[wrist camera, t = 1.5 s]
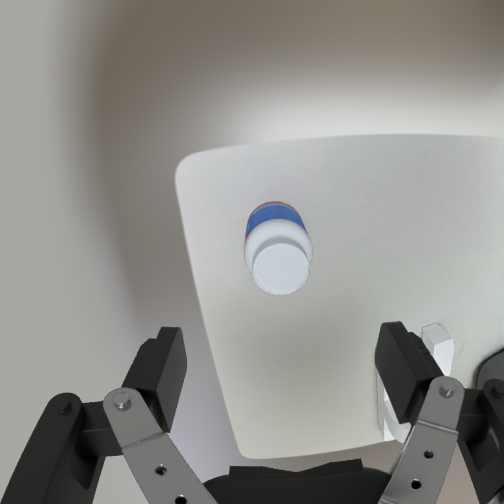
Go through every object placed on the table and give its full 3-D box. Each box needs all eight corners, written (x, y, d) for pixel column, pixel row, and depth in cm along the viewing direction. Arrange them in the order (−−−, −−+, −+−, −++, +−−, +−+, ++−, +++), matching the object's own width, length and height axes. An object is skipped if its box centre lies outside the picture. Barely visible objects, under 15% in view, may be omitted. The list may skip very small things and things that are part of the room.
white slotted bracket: (441, 320, 35) (482, 373, 25) (432, 406, 41) (455, 455, 31) (374, 343, 36) (403, 406, 26) (378, 425, 42) (394, 478, 32)
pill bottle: (237, 212, 31) (228, 247, 22) (290, 191, 30) (304, 219, 21) (259, 261, 33) (259, 312, 23) (309, 242, 32) (328, 288, 23)
